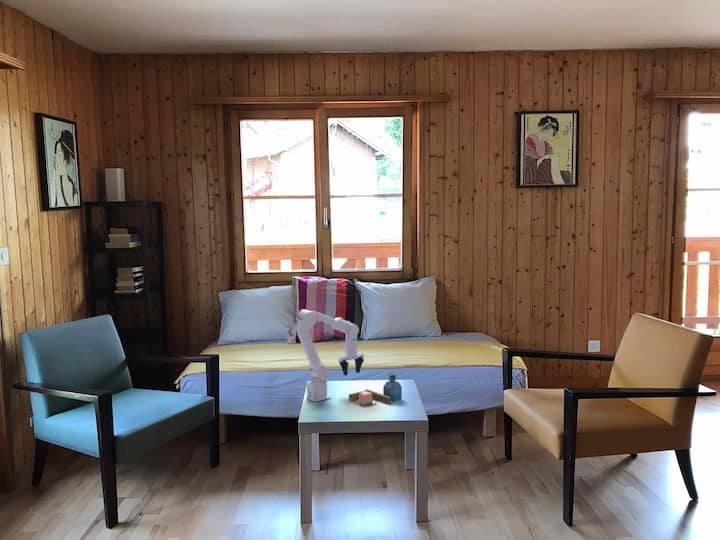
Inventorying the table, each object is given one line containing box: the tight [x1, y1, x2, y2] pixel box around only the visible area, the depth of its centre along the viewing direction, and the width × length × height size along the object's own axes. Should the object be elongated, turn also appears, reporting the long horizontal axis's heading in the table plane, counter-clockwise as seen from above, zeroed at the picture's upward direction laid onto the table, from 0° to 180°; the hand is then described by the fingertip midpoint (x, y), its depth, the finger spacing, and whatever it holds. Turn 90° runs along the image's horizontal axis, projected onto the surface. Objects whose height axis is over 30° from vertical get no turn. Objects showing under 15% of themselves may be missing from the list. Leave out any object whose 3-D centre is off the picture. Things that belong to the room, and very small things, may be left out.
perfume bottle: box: [382, 373, 403, 403], centre depth 297 cm, size 6×6×12 cm
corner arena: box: [348, 388, 392, 408], centre depth 294 cm, size 13×18×3 cm
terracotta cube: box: [358, 391, 373, 405], centre depth 292 cm, size 4×4×5 cm
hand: (351, 373), depth 310 cm, fingers open, 7 cm apart
